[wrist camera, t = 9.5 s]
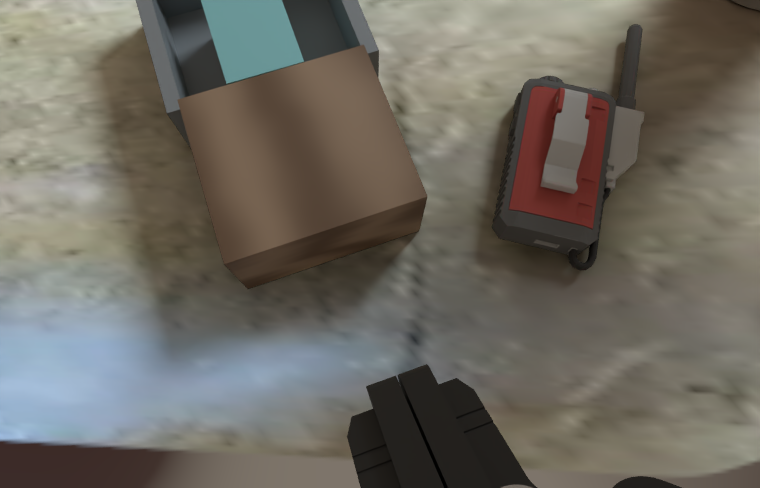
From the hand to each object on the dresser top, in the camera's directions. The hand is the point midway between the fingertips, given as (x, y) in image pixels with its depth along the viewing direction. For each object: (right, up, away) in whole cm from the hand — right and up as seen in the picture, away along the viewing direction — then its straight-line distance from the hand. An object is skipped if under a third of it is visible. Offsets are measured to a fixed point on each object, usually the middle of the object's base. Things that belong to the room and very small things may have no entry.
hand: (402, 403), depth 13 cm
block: (-8, +14, +24) cm, 28 cm away
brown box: (-5, +8, +25) cm, 27 cm away
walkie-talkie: (+13, +11, +27) cm, 32 cm away
